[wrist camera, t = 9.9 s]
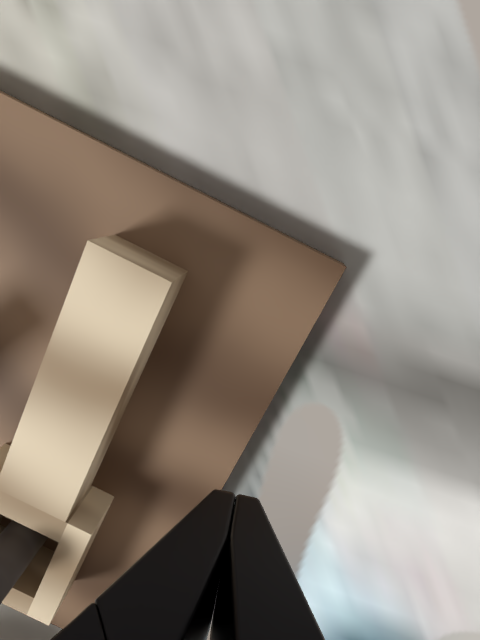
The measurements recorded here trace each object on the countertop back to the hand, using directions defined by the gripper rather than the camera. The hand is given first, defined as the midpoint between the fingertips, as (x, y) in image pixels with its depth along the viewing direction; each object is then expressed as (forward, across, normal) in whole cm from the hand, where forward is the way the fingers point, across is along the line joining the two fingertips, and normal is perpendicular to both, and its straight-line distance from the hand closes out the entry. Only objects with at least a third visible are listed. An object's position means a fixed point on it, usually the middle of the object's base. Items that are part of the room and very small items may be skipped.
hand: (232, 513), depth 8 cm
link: (+10, +7, +5) cm, 14 cm away
